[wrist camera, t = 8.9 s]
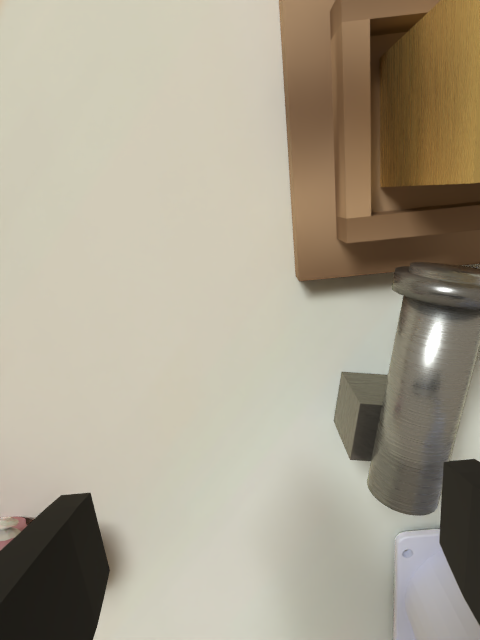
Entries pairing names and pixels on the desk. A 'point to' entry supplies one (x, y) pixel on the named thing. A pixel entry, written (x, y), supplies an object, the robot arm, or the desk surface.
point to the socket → (358, 149)
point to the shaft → (415, 388)
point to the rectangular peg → (432, 100)
